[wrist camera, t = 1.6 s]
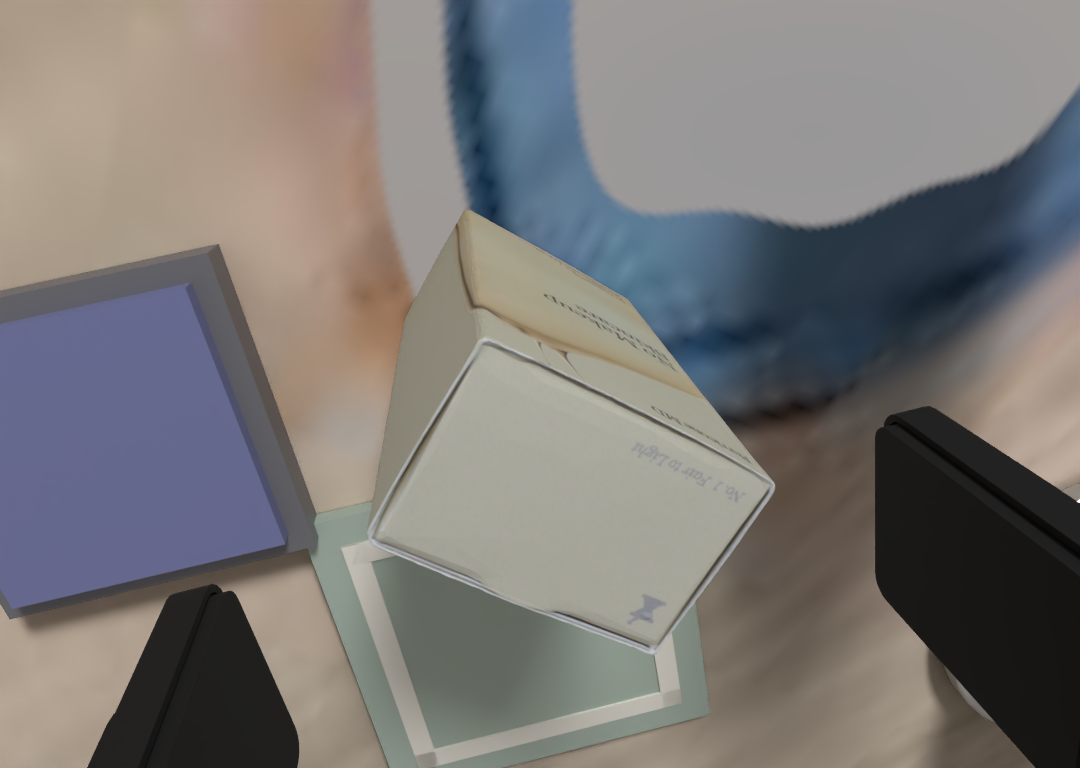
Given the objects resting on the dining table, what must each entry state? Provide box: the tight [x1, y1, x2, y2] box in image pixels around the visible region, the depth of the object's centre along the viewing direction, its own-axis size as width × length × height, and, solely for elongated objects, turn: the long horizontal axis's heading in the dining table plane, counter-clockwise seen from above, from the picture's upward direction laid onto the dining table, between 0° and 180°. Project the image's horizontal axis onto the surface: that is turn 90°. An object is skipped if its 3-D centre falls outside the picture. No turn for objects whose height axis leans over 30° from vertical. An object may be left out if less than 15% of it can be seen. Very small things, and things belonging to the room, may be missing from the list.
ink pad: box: [0, 244, 319, 619], centre depth 23 cm, size 10×10×2 cm
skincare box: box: [367, 210, 775, 655], centre depth 19 cm, size 6×4×12 cm
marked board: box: [308, 501, 710, 768], centre depth 28 cm, size 13×13×1 cm
